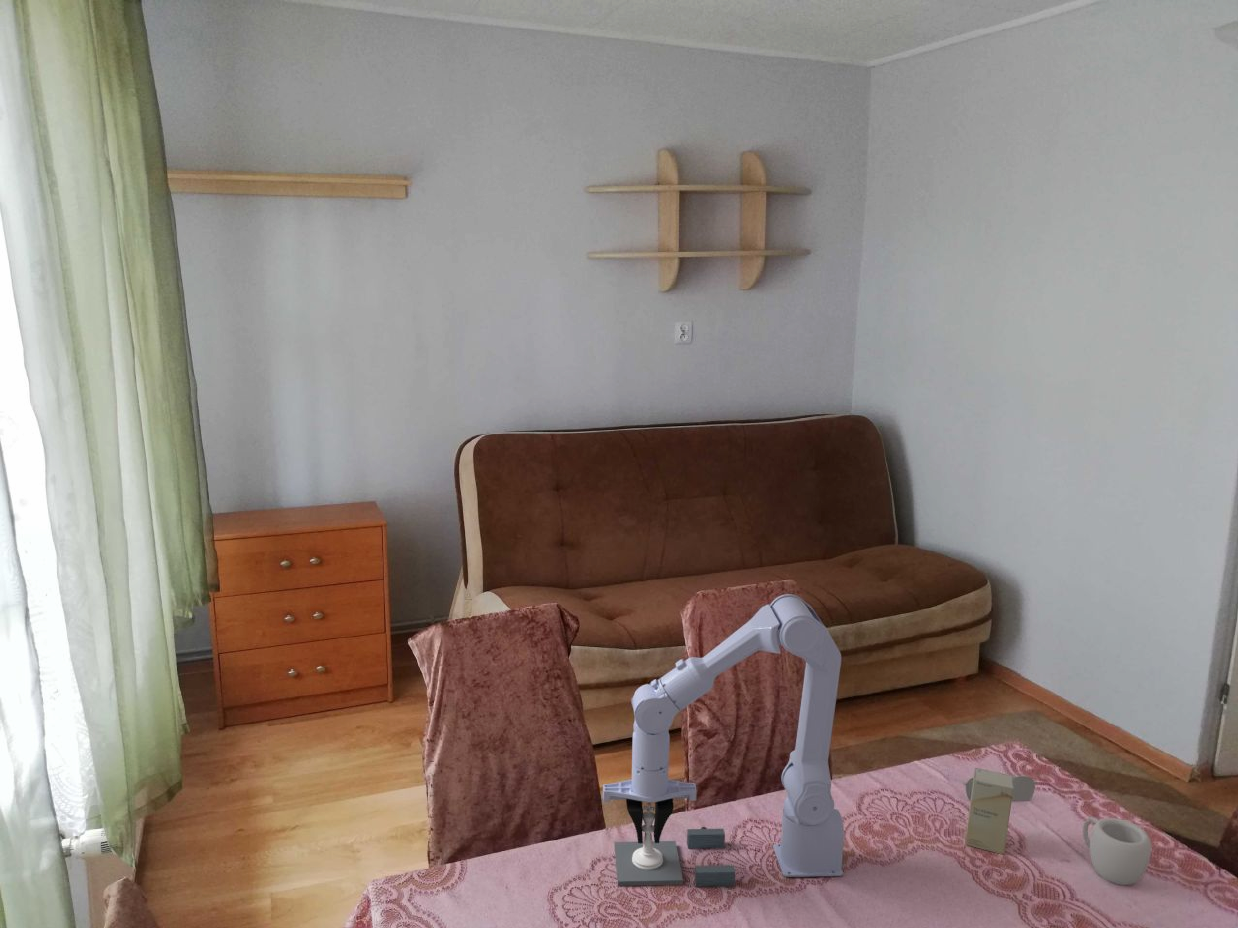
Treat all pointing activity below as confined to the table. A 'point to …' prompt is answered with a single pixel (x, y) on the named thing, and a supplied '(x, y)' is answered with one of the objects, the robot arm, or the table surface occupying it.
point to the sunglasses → (1020, 792)
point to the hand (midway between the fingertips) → (648, 839)
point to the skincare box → (989, 810)
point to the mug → (1118, 849)
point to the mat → (639, 877)
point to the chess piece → (647, 844)
